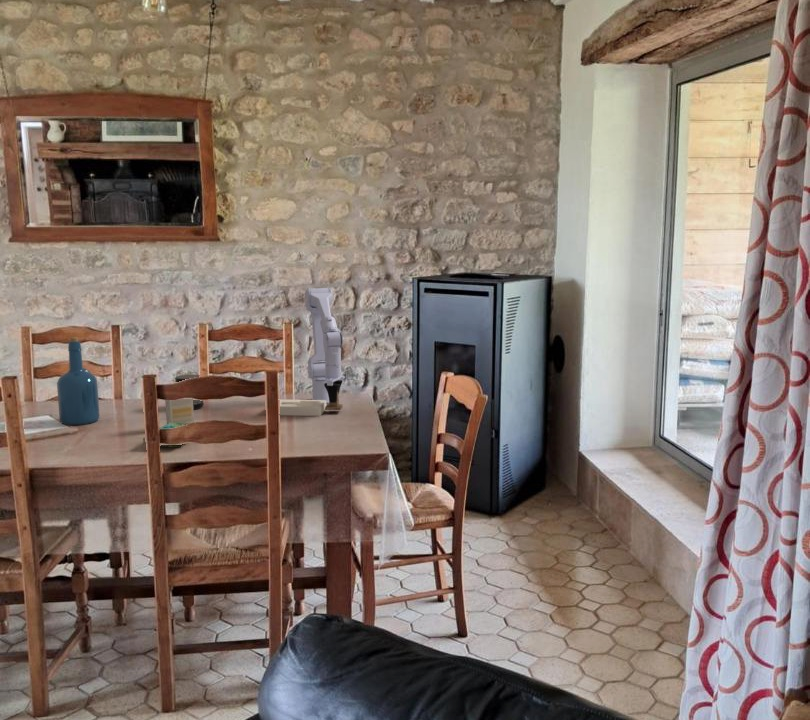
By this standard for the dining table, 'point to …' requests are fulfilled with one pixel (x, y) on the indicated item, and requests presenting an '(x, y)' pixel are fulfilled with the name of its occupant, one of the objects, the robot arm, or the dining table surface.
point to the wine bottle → (77, 390)
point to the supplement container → (196, 403)
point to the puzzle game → (169, 425)
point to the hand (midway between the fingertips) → (333, 401)
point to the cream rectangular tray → (302, 407)
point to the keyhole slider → (334, 404)
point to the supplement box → (179, 411)
